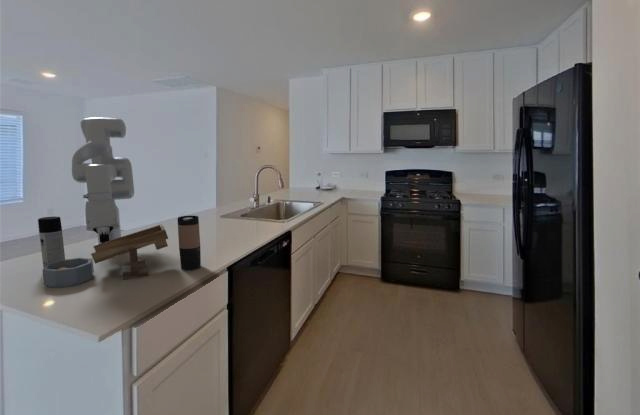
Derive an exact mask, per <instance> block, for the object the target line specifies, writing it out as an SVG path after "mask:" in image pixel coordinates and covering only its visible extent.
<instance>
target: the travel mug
mask: <svg viewBox="0 0 640 415" xmlns="http://www.w3.org/2000/svg"><path fill="white" fill-rule="evenodd" d="M177 235H178V251H179V259H180V260H179V261H180V269H181V270H182V271H195V270H198V269H200V268H201V263H202V262H201V258H202V257H201V235H200V220H199V216H198V215H182V216H181V215H180V216H178V217H177Z"/></svg>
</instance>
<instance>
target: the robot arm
mask: <svg viewBox="0 0 640 415" xmlns="http://www.w3.org/2000/svg"><path fill="white" fill-rule="evenodd" d="M80 129H81V132H82V134H83V137H84V139H85V143H84V144H83V145H81V146H80V147H79V148H78V149H77V150H76V151H75V152H74V154H73V156H72V159H71V175H72V179H74V181H75V182H76V183H79V184H86V190H87V193H86V194H83V195H82V196H83V197H82V198H83V199H86V200H87V201H85V209H84V213H85V224H86V228H85V229H86V230H85V231H90V232H94V233H96V234H97V235H96V236H97V243H95V244H94V245H93V247H94V246H95V245H98V244H101V243H104V242H107V241H110V240H113V239H116V238H120V237H122V230H121V220H120V218H121V217H120V210H119V208H118V206H117V204H116V200H130V199H132V198H134V196H135V185H134V174H133V166H132V163H131V160H130V159H129V158H127V157H124V156H123V157H121V156H118V157H115V156H114V154H113V147H112V145H111V138H114V139H115V138H116V139H117V138H118V139H119V138H120V139H124V138H125V137H126V133H127V126H126V123H125V121H124V120H123V119H121V118H115V117H101V116H100V117H99V116H97V117H96V116H94V117H87V118H83V119H82V120H81V121H80ZM88 160H91V163H90V162H88V163H87V162H86V161H88ZM85 162H86V163H85ZM116 178H121V179H116Z"/></svg>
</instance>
